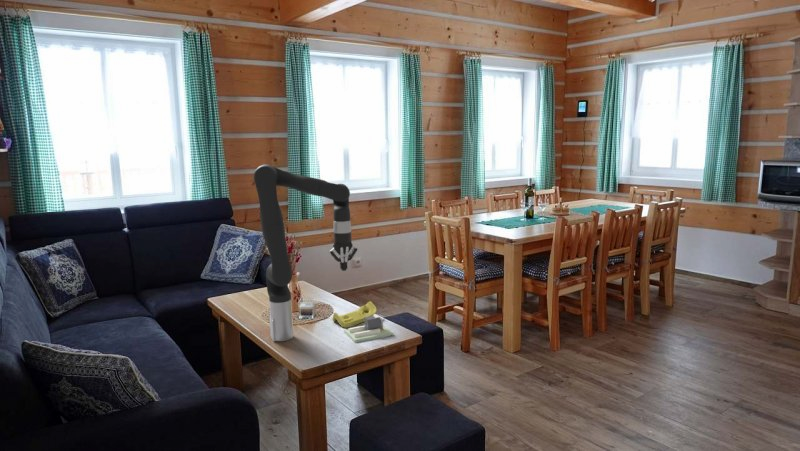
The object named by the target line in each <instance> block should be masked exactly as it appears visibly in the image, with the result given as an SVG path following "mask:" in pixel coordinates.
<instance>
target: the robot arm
mask: <svg viewBox="0 0 800 451" xmlns="http://www.w3.org/2000/svg"><path fill="white" fill-rule="evenodd" d="M253 182H254V184H255V188H256V192H257V196H258V197H257V198H258V202H259V218H260V227H261V232H262V236H263V240H264V242H265V245H266V248H267V250H268V253H269V256H270V260H271V262H270V264H269V265H268V267H267V268H266V272H265V279H266V280H265V281H266V290H267V295H268V300H269V314H270V315H269V318H268V319H269V334H270V338H271V340H272V341H273V342H285V341H290V340H291V339H293V338H294V326H293V322H294V321H293V307H292V306H293V305H292V293H291V291H290V288H289V286H288V285H289V284H290V283H291V281H292V280H293V270H292V267H291V264H290V259H289V258H290V257H289V254H288V247H287V240H286V239H287V238H286V228H285V223H284V222H285V221H284V216H283V212H282V209H281V207H280V203H279V199H278V193H277V192H278V190H277V187H284V188H289V189H292V190H295V191H297V192H298V191H299V192H300V193H305V194H307V195H311V196H316V197H321V198H326V199H330V200H331V201H332V203H333V226H332V229H333V246H332V248H331V249H329V250H328V253H329V254H330V256H331V257H333V259H334V260H335V261H336V262H339V269H340V270H341V271H342V272H345V271H347V270H348V262H349V261H352V260H353V258H354V256H356V255H355V254H356V253H357V251H358V248H357V247H355V246H353V243H352V223H351V210H350V201H349V200H350V194H351V192H350V189H349V187H348V185H346V184H344V183H333V182H328V181H327V180H324V179H319V178H315V177H312V176H306V175H300V174H296V173H292V172H289V171H285V170H283V169H280V168H278V167H275V166H272V164H271V165H270V164H268V163H267V164H266V163H265V164H261V165H259V166H257V168H256V169H255V170H254V172H253ZM336 253H337V254H338V255H337V254H336Z"/></svg>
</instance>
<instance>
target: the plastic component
mask: <svg viewBox="0 0 800 451" xmlns="http://www.w3.org/2000/svg"><path fill="white" fill-rule="evenodd" d="M376 313H377V307H376V304H374V303H373V302H372V301H368V302H366V304H364V305H362V306H359V308H358V309H356V310H353V311H350V312H347V313H344V314H341V315H339V314H338V313H337V312H334V313H333V316H332V318H331V319H332V322H335V323H338V324H339V325H340V326H341V327H342V328H344V329H345V328H351V327H353V326H356V325H359V324H361V323H364V317H368V316H373V315H376Z"/></svg>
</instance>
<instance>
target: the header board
mask: <svg viewBox="0 0 800 451" xmlns="http://www.w3.org/2000/svg"><path fill="white" fill-rule="evenodd" d="M380 323H381V331H380V329H373V330H368V331H365V324H364V325H359V326H354V327H353V326H352V327H347V328H348V329H344V331H343V332H344V334H345V335H347V337H349V339H350V340H352V341H353V343H359V342H365V341H370V340H375V339H381V338H386V337H390V336H391V335H392V336H394V331H392V330H391V329H390V328H388V327H387V326H386V325H384V318H382V317H380Z"/></svg>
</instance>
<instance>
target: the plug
mask: <svg viewBox="0 0 800 451" xmlns="http://www.w3.org/2000/svg"><path fill="white" fill-rule="evenodd" d="M380 318H381V316H379V315H377V314H374V315H373V316H368V317H364V322H363V323H364V325H365V331H368V330H373V329H380V331H381V323H380Z"/></svg>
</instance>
